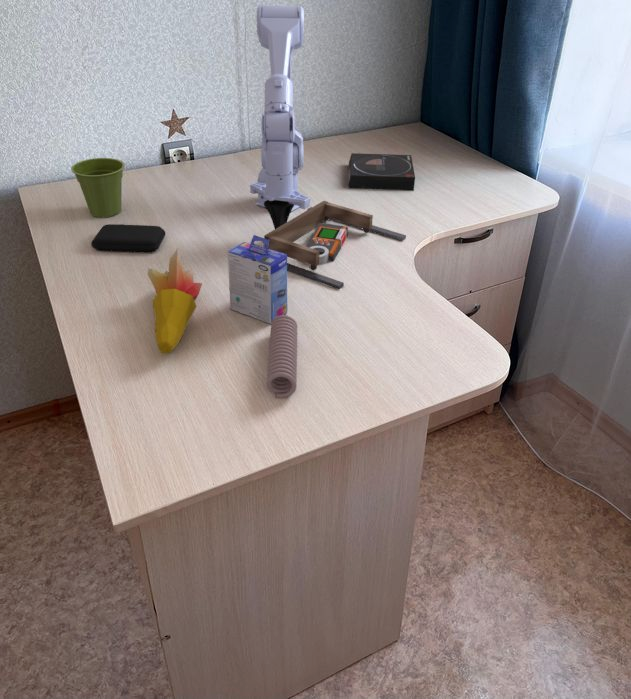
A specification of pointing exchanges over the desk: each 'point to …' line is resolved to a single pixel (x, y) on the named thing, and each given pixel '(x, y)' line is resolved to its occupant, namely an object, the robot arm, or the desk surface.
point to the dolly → (306, 222)
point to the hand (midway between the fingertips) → (280, 230)
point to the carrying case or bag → (128, 238)
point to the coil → (282, 356)
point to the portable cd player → (381, 172)
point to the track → (331, 281)
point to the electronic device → (328, 241)
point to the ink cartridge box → (258, 280)
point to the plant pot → (101, 184)
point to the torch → (173, 302)
